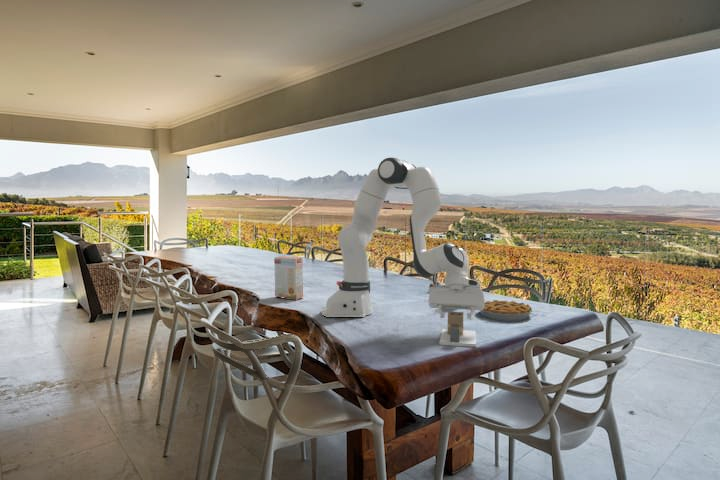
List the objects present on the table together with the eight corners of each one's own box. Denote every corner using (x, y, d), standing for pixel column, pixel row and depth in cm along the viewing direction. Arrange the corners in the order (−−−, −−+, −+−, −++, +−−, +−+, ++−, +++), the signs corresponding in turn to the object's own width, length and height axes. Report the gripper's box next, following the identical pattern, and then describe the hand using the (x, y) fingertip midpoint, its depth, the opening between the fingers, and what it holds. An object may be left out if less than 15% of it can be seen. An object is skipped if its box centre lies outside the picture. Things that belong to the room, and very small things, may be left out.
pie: (494, 307, 209) (494, 296, 209) (541, 315, 193) (541, 303, 193) (468, 315, 194) (468, 304, 193) (516, 325, 178) (516, 312, 178)
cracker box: (303, 298, 228) (303, 257, 227) (295, 301, 223) (295, 258, 222) (282, 295, 236) (281, 255, 234) (274, 297, 231) (273, 256, 229)
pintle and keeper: (451, 334, 166) (451, 312, 165) (459, 335, 165) (460, 313, 164) (450, 344, 154) (450, 321, 153) (459, 345, 153) (459, 321, 153)
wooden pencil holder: (448, 330, 168) (448, 311, 167) (463, 331, 166) (463, 312, 166) (446, 338, 158) (447, 318, 157) (462, 339, 156) (463, 319, 156)
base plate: (442, 331, 170) (442, 328, 169) (475, 333, 167) (475, 330, 167) (439, 344, 154) (439, 341, 154) (476, 347, 151) (476, 344, 151)
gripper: (428, 280, 172) (426, 311, 163) (484, 282, 167) (485, 314, 159) (429, 289, 177) (427, 320, 168) (484, 291, 172) (484, 324, 163)
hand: (455, 318), depth 163 cm, fingers open, 8 cm apart
